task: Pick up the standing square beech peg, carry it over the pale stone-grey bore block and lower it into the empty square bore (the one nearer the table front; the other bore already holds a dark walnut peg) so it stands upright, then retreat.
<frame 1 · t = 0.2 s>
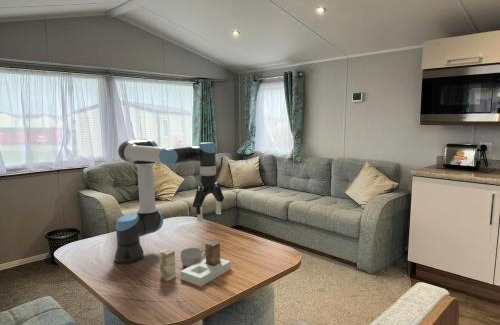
hand: (209, 217, 165), 27 cm above the table, fingers open, 13 cm apart
pin: (168, 277, 161), on the table
bore block: (206, 273, 165), on the table
teacup: (194, 265, 175), on the table
walnut pin: (213, 270, 169), resting on bore block
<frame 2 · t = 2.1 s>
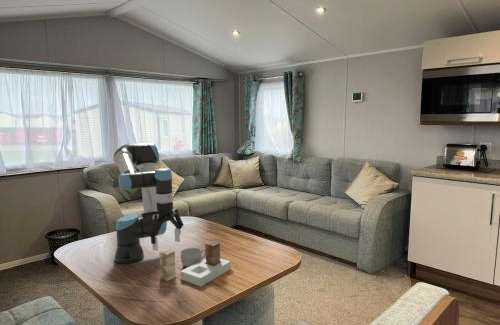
hand: (166, 245, 159), 16 cm above the table, fingers open, 13 cm apart
nothing on the table moved.
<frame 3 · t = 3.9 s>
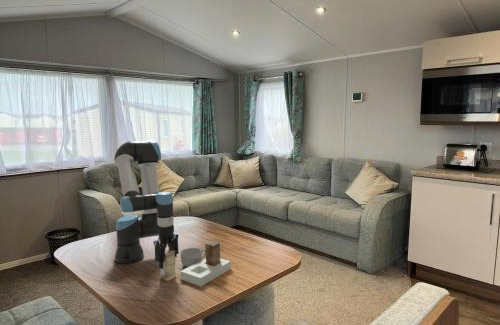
hand: (167, 271, 161), 3 cm above the table, fingers closed on pin, 5 cm apart
pin: (168, 277, 161), on the table, touching gripper
everything else where it was.
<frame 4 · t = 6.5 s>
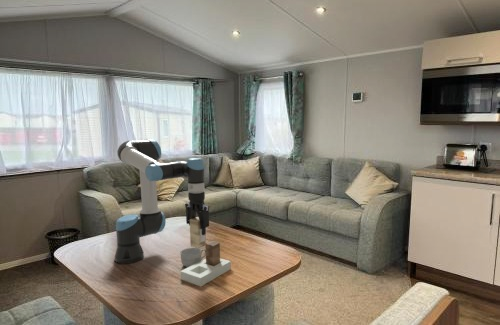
hand: (198, 240, 158), 19 cm above the table, fingers closed on pin, 5 cm apart
pin: (198, 245, 159), point 16 cm above the table, touching gripper
everything else where it was.
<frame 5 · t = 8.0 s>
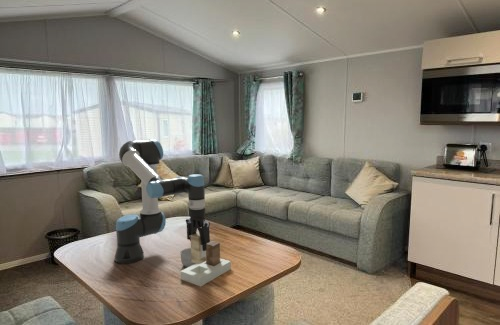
hand: (198, 255, 159), 11 cm above the table, fingers closed on pin, 5 cm apart
pin: (199, 261, 159), point 8 cm above the table, touching gripper
everything else where it was.
when the fingers open (5 cm above the table, at t = 9.3 s): pin drops 1 cm, resting on bore block.
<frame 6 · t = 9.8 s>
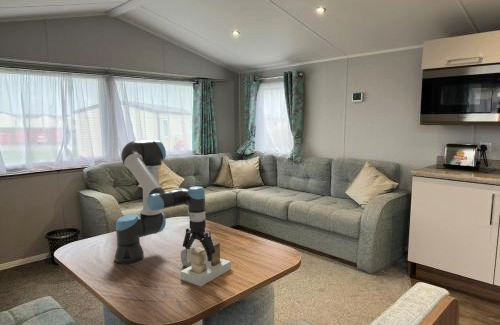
hand: (199, 264, 160), 7 cm above the table, fingers open, 11 cm apart
pin: (199, 275, 160), point 1 cm above the table, touching bore block
everything else where it was.
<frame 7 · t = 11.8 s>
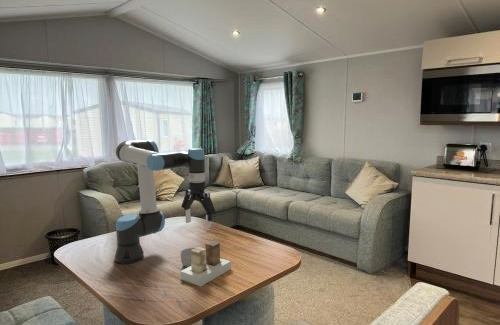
hand: (198, 225, 161), 25 cm above the table, fingers open, 13 cm apart
nothing on the table moved.
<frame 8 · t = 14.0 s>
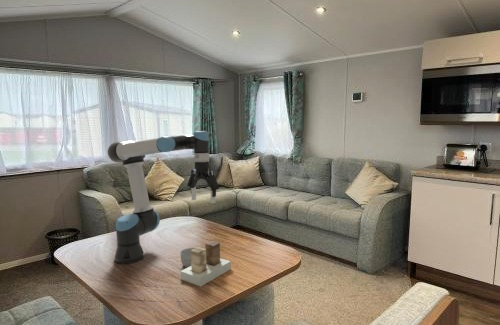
hand: (203, 201, 176), 33 cm above the table, fingers open, 13 cm apart
nothing on the table moved.
at the end: pin 0.0 cm from the target spot on the bore block, point 1.0 cm above the bore block's base; pin tilted 0°; the gripper is holding nothing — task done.
